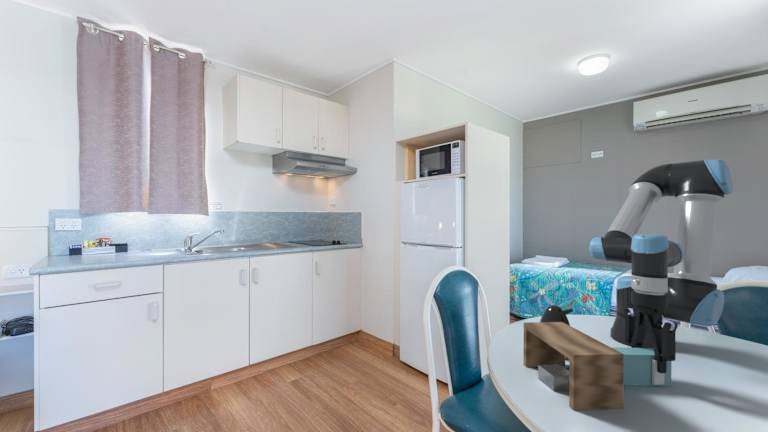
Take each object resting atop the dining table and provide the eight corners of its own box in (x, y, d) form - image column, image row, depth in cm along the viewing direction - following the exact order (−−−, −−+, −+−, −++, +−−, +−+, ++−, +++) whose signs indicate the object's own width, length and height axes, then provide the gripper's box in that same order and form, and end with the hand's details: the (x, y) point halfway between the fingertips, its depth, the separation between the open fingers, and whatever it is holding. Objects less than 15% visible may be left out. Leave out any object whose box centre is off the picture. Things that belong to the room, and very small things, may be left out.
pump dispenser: (578, 360, 96) (579, 310, 96) (542, 357, 98) (542, 308, 98) (566, 346, 106) (566, 302, 106) (533, 344, 108) (534, 300, 108)
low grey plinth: (558, 378, 86) (558, 363, 86) (574, 390, 80) (574, 374, 80) (538, 379, 85) (538, 365, 85) (553, 392, 79) (553, 376, 79)
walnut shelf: (561, 363, 94) (562, 321, 94) (623, 408, 72) (623, 354, 72) (523, 364, 93) (523, 322, 93) (573, 410, 71) (574, 355, 71)
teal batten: (656, 377, 86) (657, 348, 86) (671, 386, 82) (671, 355, 82) (572, 375, 87) (572, 346, 87) (581, 383, 83) (581, 353, 83)
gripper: (609, 284, 93) (608, 363, 93) (668, 300, 75) (667, 397, 75) (633, 284, 94) (632, 362, 94) (697, 300, 76) (696, 396, 76)
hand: (648, 378), depth 84 cm, fingers closed on teal batten, 5 cm apart
